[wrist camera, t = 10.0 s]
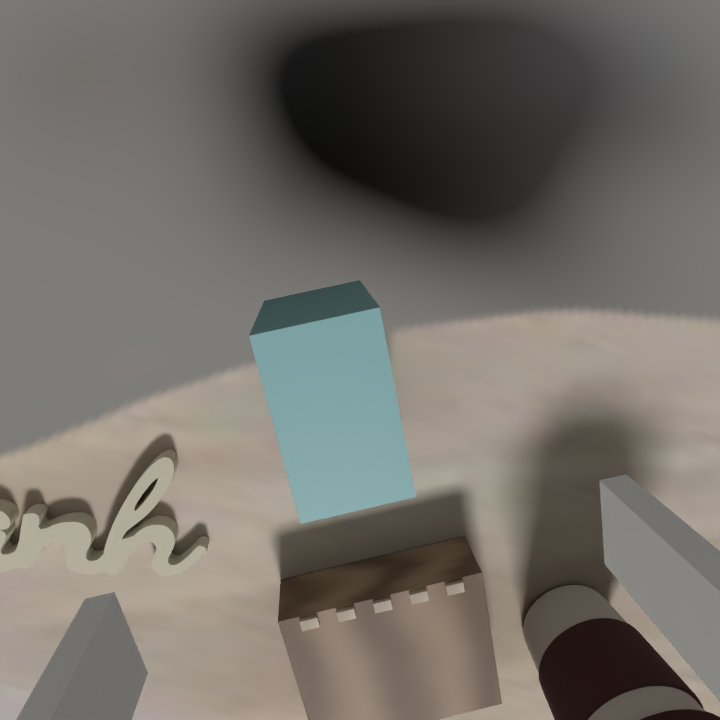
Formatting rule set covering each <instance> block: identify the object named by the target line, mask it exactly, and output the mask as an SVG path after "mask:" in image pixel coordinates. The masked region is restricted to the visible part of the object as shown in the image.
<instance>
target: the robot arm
mask: <svg viewBox="0 0 720 720" xmlns="http://www.w3.org/2000/svg"><path fill="white" fill-rule="evenodd" d="M599 483H600V499H601V515H602V531H603V547H604V563H605V565H606V567H607V568H608V569H609V570H610V571H611V572H612V574H613V575H614V576H615V577H616V578H617V580H618V581H619V582H620V583H621V584H622V586H623V587H624V588H625V589H626V590H627V592H628V593H629V594H630V595H631V596H632V597H633V599H634V600H635V601H636V602H637V603H638V605H639V606H640V607H641V608H642V609H643V611H644V612H645V613H646V614H647V615H648V617H649V618H650V619H651V620H652V621H653V622H654V624H655V625H656V626H657V627H658V628H659V630H660V631H661V632H662V633H663V634H664V636H665V637H666V638H667V639H668V640H669V642H670V643H671V644H672V645H673V646H674V648H675V649H676V650H677V651H678V652H679V653H680V655H681V656H682V657H683V658H684V659H685V661H686V662H687V663H688V664H689V665H690V667H691V668H692V669H693V670H694V671H695V673H696V674H697V675H698V676H699V677H700V678H701V680H702V681H703V682H704V683H705V684H706V686H707V687H708V688H709V689H710V690H711V692H712V693H713V694H714V695H715V696H716V698H717V699H718V700H719V701H720V551H719V550H718V549H716V548H715V547H714V546H713V545H712V544H710V543H709V542H708V541H707V540H706V539H704V538H703V537H702V536H701V535H700V534H698V533H697V532H696V531H695V530H693V529H692V528H691V527H690V526H689V525H687V524H686V523H685V522H684V521H683V520H681V519H680V518H679V517H678V516H677V515H675V514H674V513H673V512H672V511H671V510H669V509H668V508H667V507H666V506H664V505H663V504H662V503H661V502H660V501H658V500H657V499H656V498H655V497H654V496H652V495H651V494H650V493H649V492H648V491H646V490H645V489H644V488H643V487H642V486H640V485H639V484H638V483H637V482H635V481H634V480H633V479H632V478H631V477H629V476H628V475H627V474H625V475H621V476H616V477H612V478H608V479H603V480H599ZM147 673H148V672H147V670H146V667H145V665H144V662H143V660H142V658H141V655H140V653H139V650H138V648H137V645H136V643H135V641H134V638H133V636H132V633H131V631H130V629H129V626H128V624H127V621H126V619H125V616H124V614H123V612H122V609H121V607H120V604H119V602H118V599H117V597H116V595H115V592H113V593H109V594H104V595H100V596H96V597H91V598H87V599H85V600H84V602H83V603H82V605H81V607H80V609H79V610H78V612H77V614H76V616H75V617H74V619H73V621H72V623H71V624H70V626H69V628H68V630H67V632H66V633H65V635H64V637H63V639H62V640H61V642H60V644H59V646H58V647H57V649H56V651H55V653H54V654H53V656H52V658H51V660H50V661H49V663H48V665H47V667H46V668H45V670H44V672H43V674H42V675H41V677H40V679H39V681H38V682H37V684H36V686H35V688H34V690H33V691H32V693H31V695H30V697H29V698H28V700H27V702H26V704H25V705H24V707H23V709H22V711H21V712H20V714H19V716H18V718H17V719H16V720H132V717H133V714H134V711H135V708H136V705H137V702H138V700H139V697H140V694H141V691H142V688H143V685H144V682H145V679H146V676H147Z"/></svg>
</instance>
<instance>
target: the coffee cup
mask: <svg viewBox="0 0 720 720" xmlns="http://www.w3.org/2000/svg"><path fill="white" fill-rule="evenodd" d="M523 633H524V638H525V642H526V644H527V646H528V649H529V651H530V654H531V656H532V658H533V661H534V663H535V665H536V668H537V670H538V673H539V680H540V684H541V687H542V690H543V692H544V695H545V697H546V699H547V702H548V704H549V707H550V709H551V712H552V714H553V716H554V719H555V720H720V717H718V716H716V715H714V714H712V713H709V712H705V710H704V709H703V706H702V704H701V702H700V701H699V699H698V698H697V696H696V695H695V694H694V693H693V692H692V690H691V689H690V688H689V687H688V686H687V685H686V684H685V683H684V682H683V680H682V679H681V678H680V677H679V676H678V675H677V674H676V673H675V672H674V671H673V669H672V668H671V667H670V666H669V665H668V664H667V663H666V662H665V661H664V659H663V658H662V657H661V656H660V655H659V654H658V653H657V652H656V651H655V649H654V648H653V647H652V646H651V645H650V644H649V643H648V642H647V641H646V639H645V638H644V637H643V636H642V635H641V634H640V633H639V632H638V631H637V630H636V629H635V628H634V627H632V626H631V625H630V624H628V623H626V622H625V620H624V619H623V618H622V617H621V616H620V615H619V614H618V613H617V611H616V610H615V609H614V608H613V607H612V606H611V605H610V604H609V602H608V601H607V600H606V599H605V598H604V597H603V596H602V595H601V594H600V593H598V592H597V591H595V590H594V589H592V588H589V587H586V586H582V585H565V586H561V587H558V588H555V589H552V590H550V591H548V592H547V593H545V594H543V595H542V596H541V597H540V598H538V599H537V600H536V601H535V602H534V604H533V605H532V606H531V607H530V609H529V610H528V612H527V614H526V617H525V620H524V626H523Z"/></svg>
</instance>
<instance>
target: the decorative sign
mask: <svg viewBox="0 0 720 720" xmlns="http://www.w3.org/2000/svg"><path fill="white" fill-rule="evenodd" d="M177 466H178V457H177V454H176V452H175V451H174V450H166V451H164V452H162V453H161V454H159V455H158V456H157V457H156V458H155V459H154V460H153V461H152V462H151V463H150V464H149V466H148V467H147V468H146V469H145V471H144V472H143V473H142V475H141V476H140V478H139V479H138V481H137V482H136V484H135V485H134V487H133V488H132V490H131V492H130V493H129V495H128V497H127V498H126V500H125V502H124V503H123V505H122V507H121V509H120V511H119V513H118V515H117V517H116V519H115V521H114V523H113V525H112V528H111V530H110V533H109V535H108V538H107V541H106V545H105V549H103V550H99V551H98V550H94V548H93V547H92V544H93V540H94V539H95V537H96V534H97V523H96V521H95V519H94V518H93V517H92V516H91V515H90V514H87V513H83V512H73V513H67V514H64V515H61V516H59V517H56V518H54V519H48V518H47V507H46V505H44V504H35V505H33V506H31V507H30V508H29V509H28V510H27V511H26V512H25V514H24V515H23V519H22V524H21V531H20V538H19V542H18V544H15V545H13V544H12V543H11V542H10V537H11V535H12V534H13V532H14V529H15V526H16V525H15V524H14V521H15V520H16V519H17V518H18V517H19V509H18V507H17V506H16V505H15V504H13V503H12V502H10V501H8V500H4V499H0V573H3V572H6V571H9V570H11V569H14V568H20V569H28V568H29V567H30V566H31V565H32V564H33V563H34V562H35V560H36V559H37V558H38V556H39V555H40V554H41V553H42V551H43V550H44V548H45V547H46V546H47V545H48V544H50V543H52V542H60V543H62V544H63V545H64V548H65V564H66V567H67V568H68V569H69V570H71V571H73V572H76V573H80V574H85V575H96V574H100V573H103V572H105V573H106V574H107V575H110V576H114V575H116V574H117V573H118V572H119V571H120V570H121V569H122V567H123V566H124V564H125V563H126V561H127V560H128V558H129V556H130V555H131V554H132V552H133V551H134V550H135V549H136V548H137V547H138V546H139V545H140V544H142V543H145V542H152V543H153V544H154V545H155V546H156V552H155V554H154V557H153V559H152V563H151V567H152V570H153V572H154V573H155V574H157V575H159V576H162V577H170V576H175V575H178V574H180V573H182V572H184V571H185V570H187V569H188V568H190V567H191V566H192V565H193V564H194V563H195V562H196V561H197V560H198V559H199V558H200V557H201V556H202V555H203V554H204V553H205V552H206V551H207V548H208V544H209V538H208V537H206V536H201V537H200V538H199V539H198V540H197V541H196V542H195V543H194V544H193V545H192V546H191V547H190V548H189V549H187V550H186V551H185V552H183V553H182V554H180V555H174V554H173V553H172V550H173V548H174V545H175V542H176V540H177V537H178V525H177V523H176V521H175V520H174V519H172V518H171V517H169V516H164V515H158V516H153V517H151V518H149V519H147V520H145V521H144V522H143V523H141V524H140V525H139V526H137V527H135V528H132V529H130V528H131V527H133V526H134V525H135V524H137V523H138V522H139V521H140V520H142V519H143V518H144V517H145V516H146V515H147V514H148V513H149V512H150V511H151V510H152V509H153V508H154V507H155V506H156V505H157V503H158V502H159V501H160V499H161V498H162V497H163V495H164V494H165V492H166V490H167V489H168V487H169V485H170V483H171V481H172V479H173V477H174V474H175V472H176V470H177ZM157 478H158V480H157V483H156V484H155V486H154V487H153V489H152V490H151V491H150V492H149V494H148V495H147V496H146V497H145V498H144V499H143V500H142V501H141V502H140V497H141V496H142V494H143V493H144V492H145V490H146V489H147V488H148V487H149V486H150V484H151V483H152V482H153V481H154V480H155V479H157Z"/></svg>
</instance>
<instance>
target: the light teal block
mask: <svg viewBox="0 0 720 720" xmlns="http://www.w3.org/2000/svg"><path fill="white" fill-rule="evenodd" d="M249 338H250V342H251V345H252V349H253V353H254V356H255V360H256V364H257V367H258V371H259V375H260V378H261V382H262V386H263V389H264V393H265V397H266V400H267V404H268V408H269V411H270V415H271V418H272V422H273V426H274V429H275V433H276V437H277V440H278V444H279V448H280V451H281V455H282V459H283V462H284V466H285V470H286V473H287V477H288V481H289V484H290V488H291V492H292V495H293V499H294V503H295V506H296V510H297V514H298V517H299V521H300V524H303V523H307V522H311V521H315V520H320V519H324V518H328V517H333V516H337V515H341V514H345V513H350V512H354V511H358V510H362V509H367V508H371V507H375V506H380V505H384V504H388V503H392V502H397V501H401V500H405V499H410V498H414V497H416V495H415V490H414V484H413V479H412V474H411V469H410V463H409V458H408V453H407V448H406V442H405V437H404V432H403V426H402V421H401V416H400V411H399V405H398V400H397V395H396V390H395V384H394V379H393V374H392V368H391V363H390V358H389V353H388V347H387V342H386V337H385V332H384V326H383V321H382V316H381V311H380V307H379V306H378V304H377V303H376V302H375V300H374V299H373V298H372V296H371V295H370V294H369V293H368V291H367V290H366V288H365V287H364V286H363V284H362V283H361V282H360V281H355V282H350V283H346V284H341V285H337V286H332V287H327V288H322V289H318V290H313V291H308V292H304V293H299V294H295V295H290V296H285V297H281V298H276V299H271V300H267V301H264V303H263V305H262V307H261V309H260V312H259V314H258V316H257V319H256V321H255V323H254V325H253V328H252V330H251V332H250V335H249Z"/></svg>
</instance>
